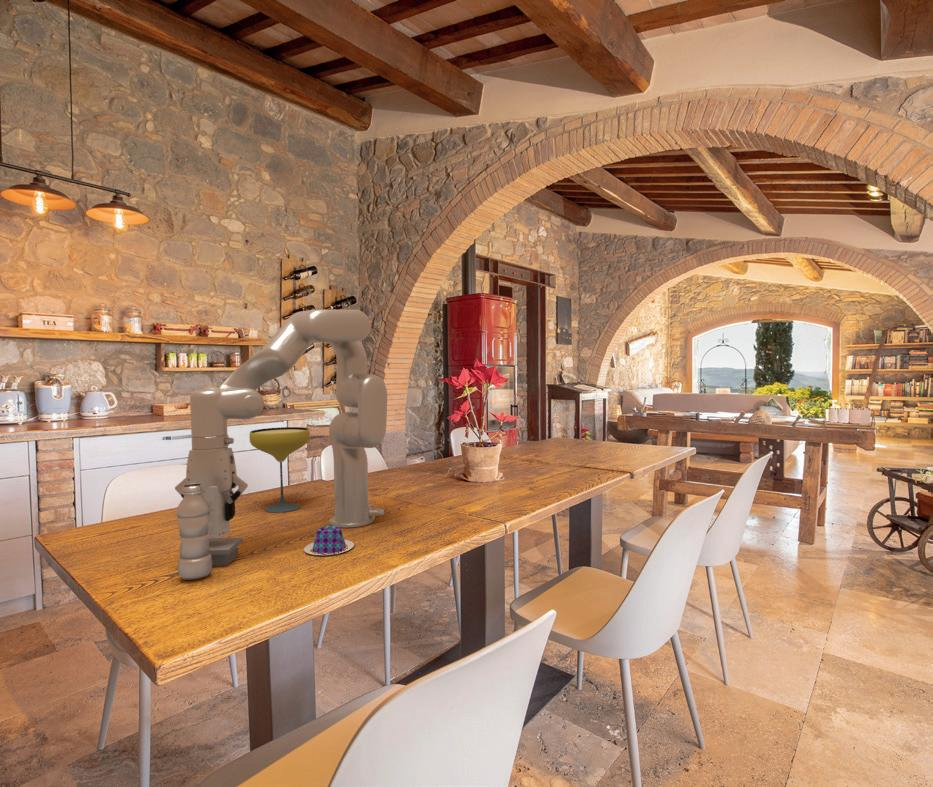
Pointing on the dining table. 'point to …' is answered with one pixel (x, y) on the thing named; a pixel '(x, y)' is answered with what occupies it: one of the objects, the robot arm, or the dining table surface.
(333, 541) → the pudding
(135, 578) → the dining table surface
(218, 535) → the skincare box
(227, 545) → the stand
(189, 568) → the plastic bottle
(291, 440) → the cocktail glass
